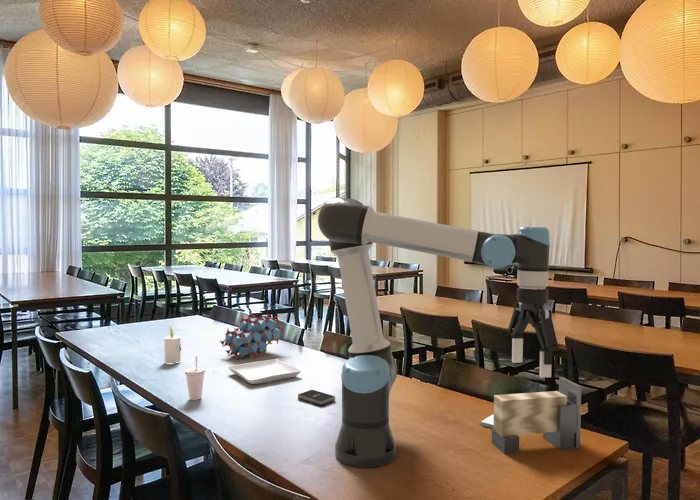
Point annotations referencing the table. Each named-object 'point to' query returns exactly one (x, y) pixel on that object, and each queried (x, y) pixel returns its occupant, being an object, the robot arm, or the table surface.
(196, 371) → the smoothie
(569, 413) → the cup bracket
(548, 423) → the rail
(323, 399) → the external hard drive
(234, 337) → the molecule model
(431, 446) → the table surface
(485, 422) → the external hard drive
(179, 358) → the candle
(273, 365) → the salad plate
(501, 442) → the block
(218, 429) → the table surface
